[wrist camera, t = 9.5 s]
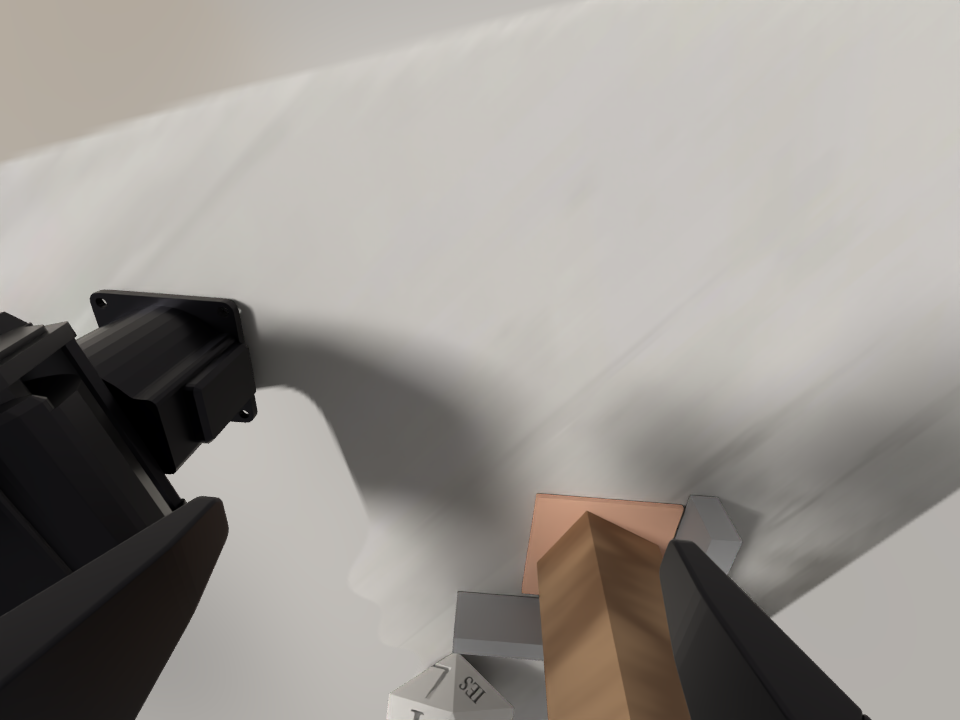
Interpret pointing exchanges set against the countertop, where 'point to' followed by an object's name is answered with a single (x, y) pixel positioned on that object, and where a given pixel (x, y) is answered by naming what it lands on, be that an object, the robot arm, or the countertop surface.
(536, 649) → the corner bracket
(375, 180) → the countertop surface
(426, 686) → the die
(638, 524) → the pad
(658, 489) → the countertop surface
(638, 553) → the walnut block
